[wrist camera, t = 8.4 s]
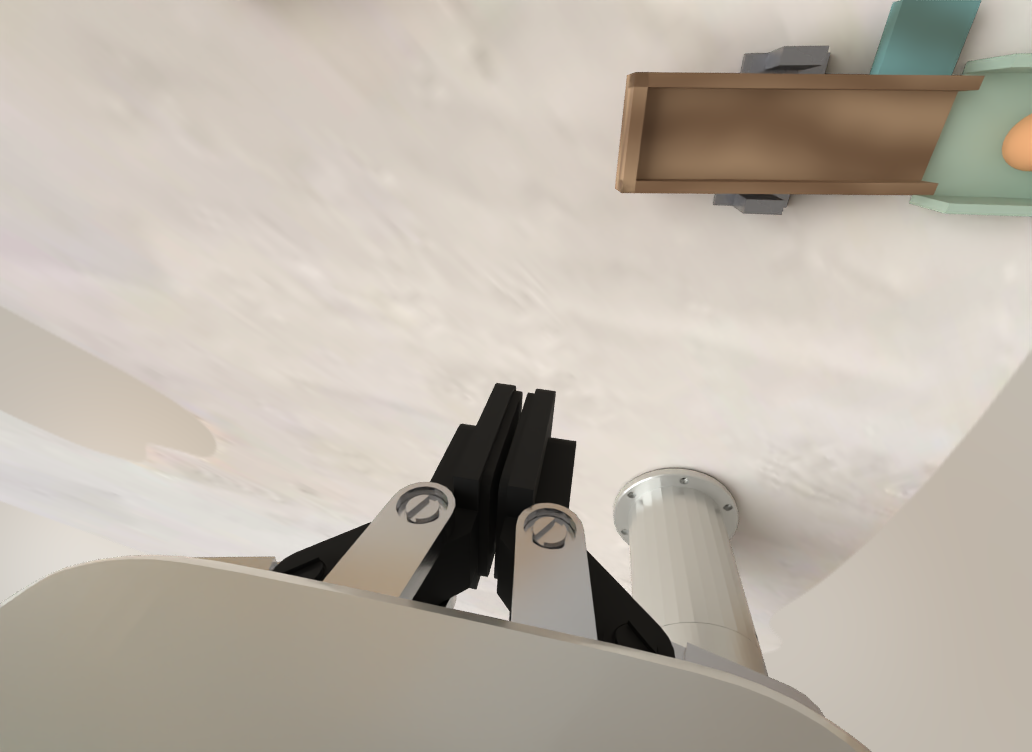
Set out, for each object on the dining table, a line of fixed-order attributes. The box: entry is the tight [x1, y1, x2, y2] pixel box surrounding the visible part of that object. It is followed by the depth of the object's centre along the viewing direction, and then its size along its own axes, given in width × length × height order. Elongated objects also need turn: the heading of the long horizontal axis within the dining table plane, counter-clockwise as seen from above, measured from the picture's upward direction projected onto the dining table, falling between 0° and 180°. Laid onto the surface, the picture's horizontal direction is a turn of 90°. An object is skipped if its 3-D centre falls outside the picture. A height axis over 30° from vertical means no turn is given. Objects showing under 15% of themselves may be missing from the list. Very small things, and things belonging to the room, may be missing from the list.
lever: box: [615, 0, 985, 195], centre depth 28 cm, size 10×20×2 cm, turn 89°
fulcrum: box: [713, 46, 830, 215], centre depth 30 cm, size 9×5×4 cm, turn 179°
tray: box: [910, 53, 1032, 217], centre depth 28 cm, size 8×8×4 cm
